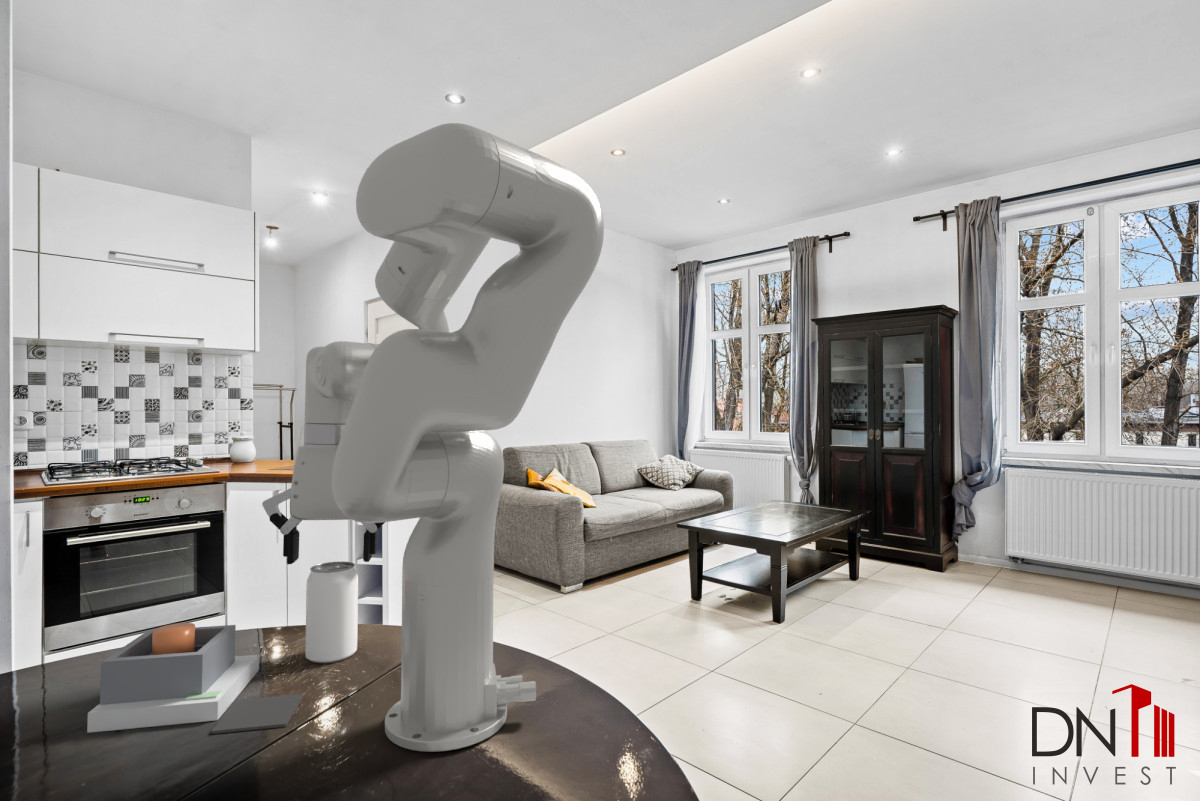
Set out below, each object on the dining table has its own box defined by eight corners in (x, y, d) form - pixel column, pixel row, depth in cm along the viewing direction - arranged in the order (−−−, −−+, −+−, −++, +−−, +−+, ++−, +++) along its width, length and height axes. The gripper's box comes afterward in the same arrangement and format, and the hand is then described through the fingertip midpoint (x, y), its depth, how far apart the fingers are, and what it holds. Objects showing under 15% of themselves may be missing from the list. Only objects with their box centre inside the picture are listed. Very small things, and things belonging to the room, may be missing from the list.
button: (200, 647, 72) (201, 621, 72) (185, 660, 68) (185, 633, 68) (162, 649, 71) (163, 624, 71) (144, 663, 67) (145, 636, 67)
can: (297, 655, 82) (298, 566, 82) (343, 642, 87) (344, 558, 87) (318, 668, 78) (320, 574, 78) (366, 653, 82) (367, 565, 83)
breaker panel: (258, 670, 77) (259, 619, 77) (217, 720, 64) (218, 658, 64) (152, 678, 74) (153, 625, 75) (87, 732, 62) (88, 668, 62)
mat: (303, 696, 70) (303, 693, 70) (285, 726, 63) (285, 723, 63) (236, 702, 68) (236, 699, 68) (211, 734, 61) (211, 731, 61)
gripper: (402, 436, 89) (399, 552, 88) (274, 434, 85) (270, 555, 85) (396, 438, 81) (393, 565, 81) (256, 437, 78) (252, 570, 77)
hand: (330, 560), depth 83 cm, fingers open, 9 cm apart
